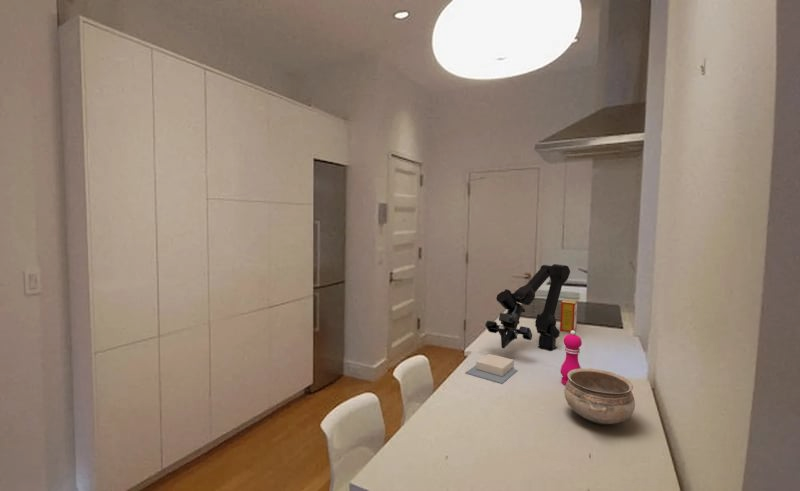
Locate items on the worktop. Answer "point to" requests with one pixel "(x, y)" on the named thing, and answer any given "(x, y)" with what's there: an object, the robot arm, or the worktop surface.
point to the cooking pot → (599, 395)
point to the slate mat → (491, 375)
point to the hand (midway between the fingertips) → (502, 347)
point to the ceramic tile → (495, 364)
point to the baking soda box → (568, 315)
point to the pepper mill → (570, 355)
